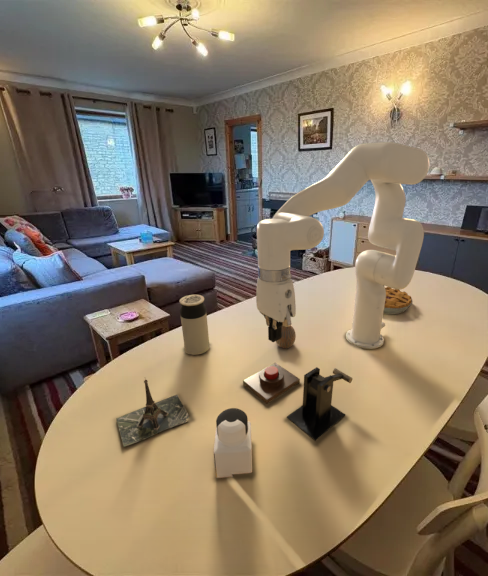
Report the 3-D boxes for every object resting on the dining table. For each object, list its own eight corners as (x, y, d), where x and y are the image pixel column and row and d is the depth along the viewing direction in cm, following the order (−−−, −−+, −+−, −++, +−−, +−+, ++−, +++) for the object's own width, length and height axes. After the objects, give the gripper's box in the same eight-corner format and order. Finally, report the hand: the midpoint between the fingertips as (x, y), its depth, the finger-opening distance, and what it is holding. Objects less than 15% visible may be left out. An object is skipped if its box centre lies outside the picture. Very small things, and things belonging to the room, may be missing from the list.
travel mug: (214, 345, 104) (210, 296, 97) (199, 358, 97) (194, 306, 90) (195, 339, 107) (189, 292, 100) (179, 352, 100) (172, 301, 93)
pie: (415, 300, 136) (417, 290, 134) (405, 321, 119) (408, 309, 117) (366, 290, 147) (367, 280, 145) (351, 307, 130) (352, 296, 128)
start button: (271, 369, 86) (271, 364, 85) (280, 375, 83) (280, 370, 83) (262, 375, 84) (261, 369, 83) (270, 381, 81) (270, 376, 81)
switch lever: (334, 374, 79) (337, 366, 79) (351, 384, 76) (353, 375, 75) (305, 383, 71) (307, 373, 70) (322, 394, 67) (324, 384, 67)
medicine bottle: (218, 447, 67) (214, 404, 62) (251, 445, 67) (250, 402, 63) (216, 479, 60) (211, 433, 56) (252, 476, 61) (250, 430, 56)
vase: (293, 352, 100) (294, 328, 97) (273, 349, 101) (273, 326, 98) (296, 340, 106) (297, 318, 103) (276, 338, 107) (277, 316, 104)
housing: (275, 368, 92) (275, 357, 91) (299, 385, 85) (300, 373, 84) (243, 386, 85) (242, 374, 83) (267, 406, 78) (266, 394, 76)
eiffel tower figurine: (178, 395, 82) (171, 353, 76) (191, 420, 74) (185, 374, 69) (116, 419, 74) (104, 374, 69) (124, 450, 66) (111, 402, 61)
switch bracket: (316, 398, 80) (319, 357, 76) (345, 418, 74) (350, 375, 69) (286, 420, 74) (287, 377, 69) (315, 444, 67) (318, 398, 63)
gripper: (308, 277, 70) (306, 345, 77) (265, 262, 80) (267, 323, 87) (284, 286, 65) (284, 357, 72) (242, 269, 75) (245, 333, 82)
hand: (275, 339), depth 80 cm, fingers closed
